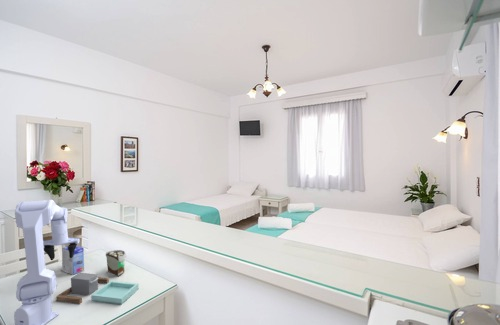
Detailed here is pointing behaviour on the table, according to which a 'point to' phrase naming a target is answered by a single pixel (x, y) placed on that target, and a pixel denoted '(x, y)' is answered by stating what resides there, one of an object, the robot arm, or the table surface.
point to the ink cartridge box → (73, 260)
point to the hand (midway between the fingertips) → (62, 258)
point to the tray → (115, 292)
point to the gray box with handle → (84, 283)
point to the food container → (116, 262)
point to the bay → (76, 300)
